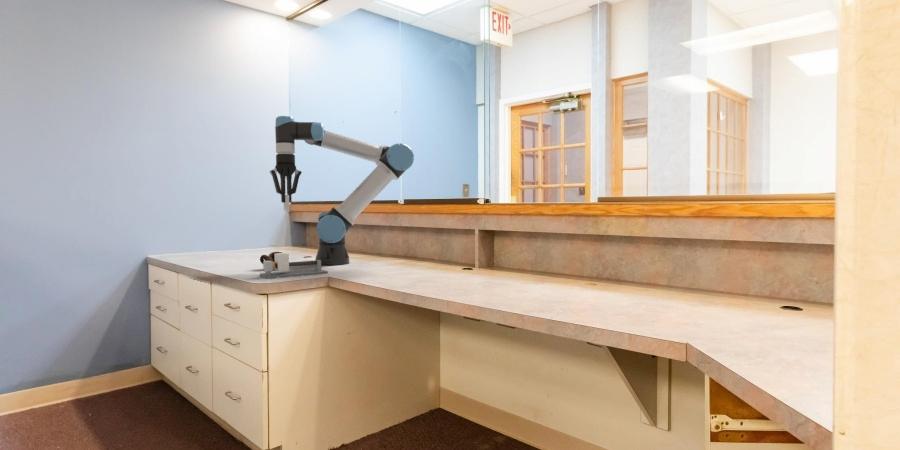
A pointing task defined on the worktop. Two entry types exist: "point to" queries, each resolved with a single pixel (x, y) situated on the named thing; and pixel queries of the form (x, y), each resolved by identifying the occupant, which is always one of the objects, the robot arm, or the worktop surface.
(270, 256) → the pottery mug
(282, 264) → the sleeve
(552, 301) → the worktop surface
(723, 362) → the worktop surface
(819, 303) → the worktop surface
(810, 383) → the worktop surface
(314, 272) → the cord jig
